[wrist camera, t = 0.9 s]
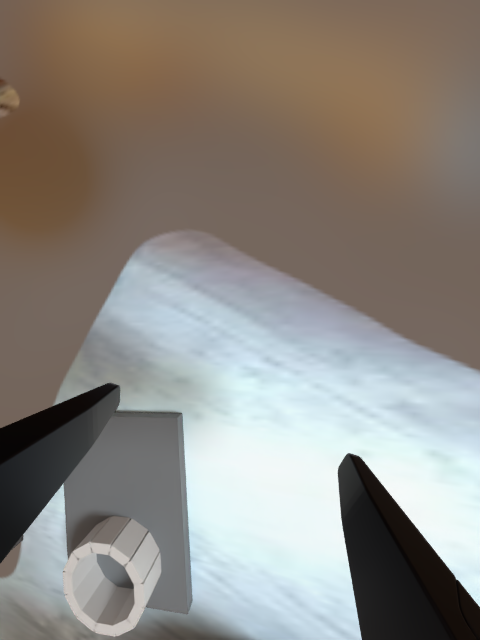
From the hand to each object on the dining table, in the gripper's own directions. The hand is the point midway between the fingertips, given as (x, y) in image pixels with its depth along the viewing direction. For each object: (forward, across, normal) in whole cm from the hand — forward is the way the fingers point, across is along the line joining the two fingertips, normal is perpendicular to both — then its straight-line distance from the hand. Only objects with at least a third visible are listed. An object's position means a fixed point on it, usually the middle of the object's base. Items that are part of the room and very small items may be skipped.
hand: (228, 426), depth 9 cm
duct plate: (+8, +8, +24) cm, 27 cm away
